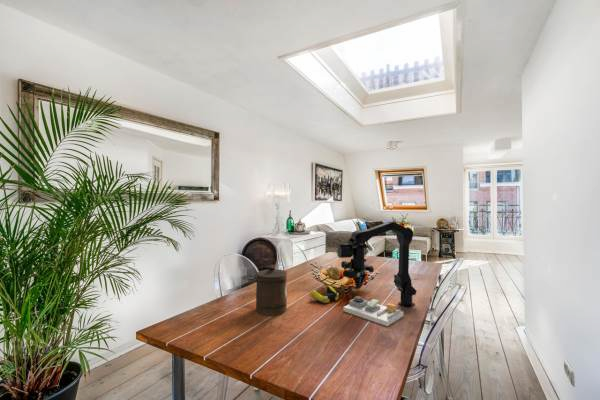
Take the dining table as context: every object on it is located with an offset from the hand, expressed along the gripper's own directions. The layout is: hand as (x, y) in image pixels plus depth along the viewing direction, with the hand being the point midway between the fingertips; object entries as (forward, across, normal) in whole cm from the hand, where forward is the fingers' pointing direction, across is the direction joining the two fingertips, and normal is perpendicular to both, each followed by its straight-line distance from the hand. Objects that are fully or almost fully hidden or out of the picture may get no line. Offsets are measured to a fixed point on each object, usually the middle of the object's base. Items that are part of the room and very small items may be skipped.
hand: (358, 288), depth 140 cm
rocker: (+5, 0, +8) cm, 10 cm away
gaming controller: (+10, +2, -19) cm, 22 cm away
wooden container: (+10, +31, -29) cm, 44 cm away
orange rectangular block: (+8, -3, +16) cm, 18 cm away
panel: (+10, 0, +8) cm, 13 cm away
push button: (+7, 0, 0) cm, 7 cm away
